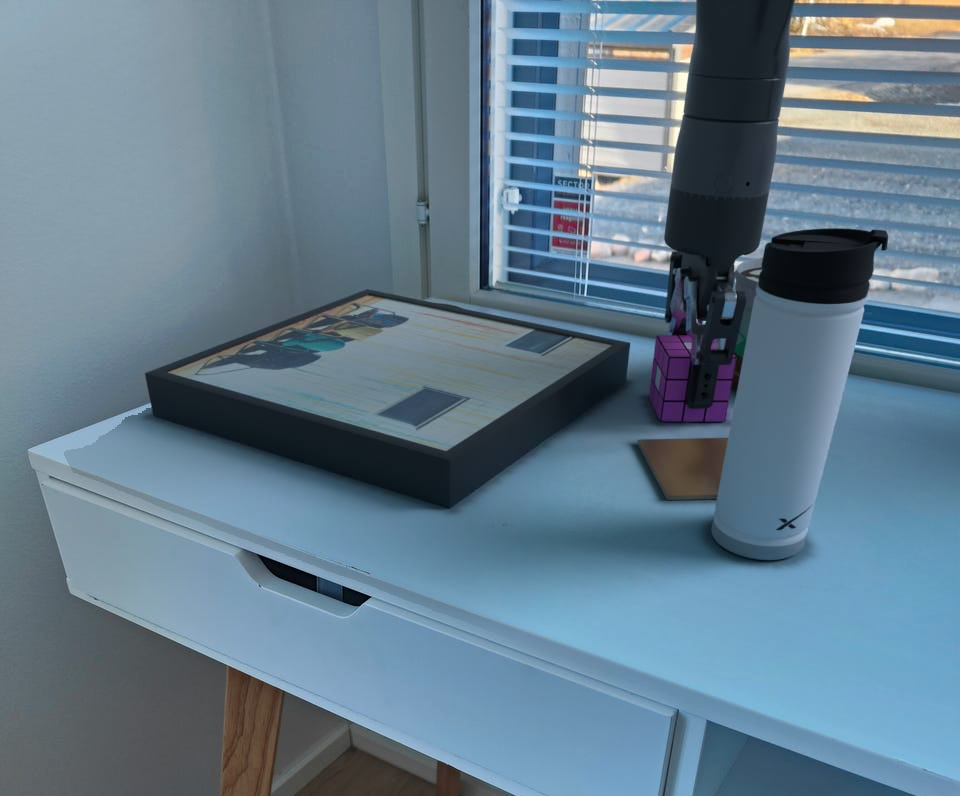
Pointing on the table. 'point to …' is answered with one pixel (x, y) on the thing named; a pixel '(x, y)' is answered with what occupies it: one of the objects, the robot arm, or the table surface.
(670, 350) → the puzzle toy
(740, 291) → the robot arm
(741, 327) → the food container
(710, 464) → the cork coaster
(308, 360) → the framed picture
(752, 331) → the travel mug
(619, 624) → the table surface
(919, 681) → the table surface
